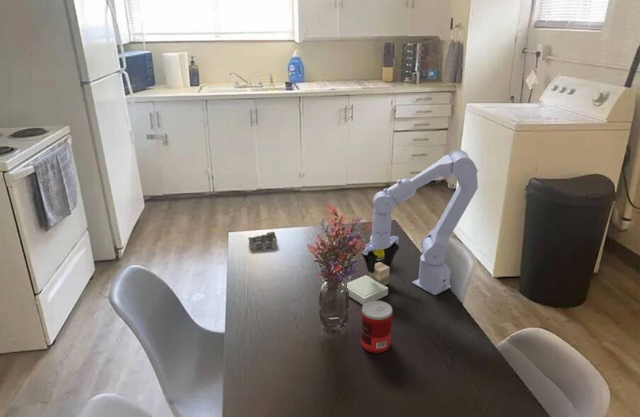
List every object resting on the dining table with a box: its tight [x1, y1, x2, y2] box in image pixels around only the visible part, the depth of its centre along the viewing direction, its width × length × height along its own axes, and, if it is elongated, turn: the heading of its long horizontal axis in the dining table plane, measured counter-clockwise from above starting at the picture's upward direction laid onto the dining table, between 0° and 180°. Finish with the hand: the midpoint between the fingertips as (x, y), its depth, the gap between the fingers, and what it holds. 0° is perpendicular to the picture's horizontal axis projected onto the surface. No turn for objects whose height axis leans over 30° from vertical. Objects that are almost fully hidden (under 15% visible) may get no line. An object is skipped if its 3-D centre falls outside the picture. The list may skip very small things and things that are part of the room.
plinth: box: [346, 274, 389, 306], centre depth 147 cm, size 10×10×3 cm
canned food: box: [360, 300, 393, 354], centre depth 123 cm, size 8×8×11 cm
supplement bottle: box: [369, 235, 384, 261], centre depth 168 cm, size 6×6×10 cm
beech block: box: [368, 261, 391, 286], centre depth 153 cm, size 4×4×6 cm
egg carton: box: [248, 231, 278, 251], centre depth 179 cm, size 11×8×4 cm
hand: (379, 268), depth 152 cm, fingers open, 7 cm apart
